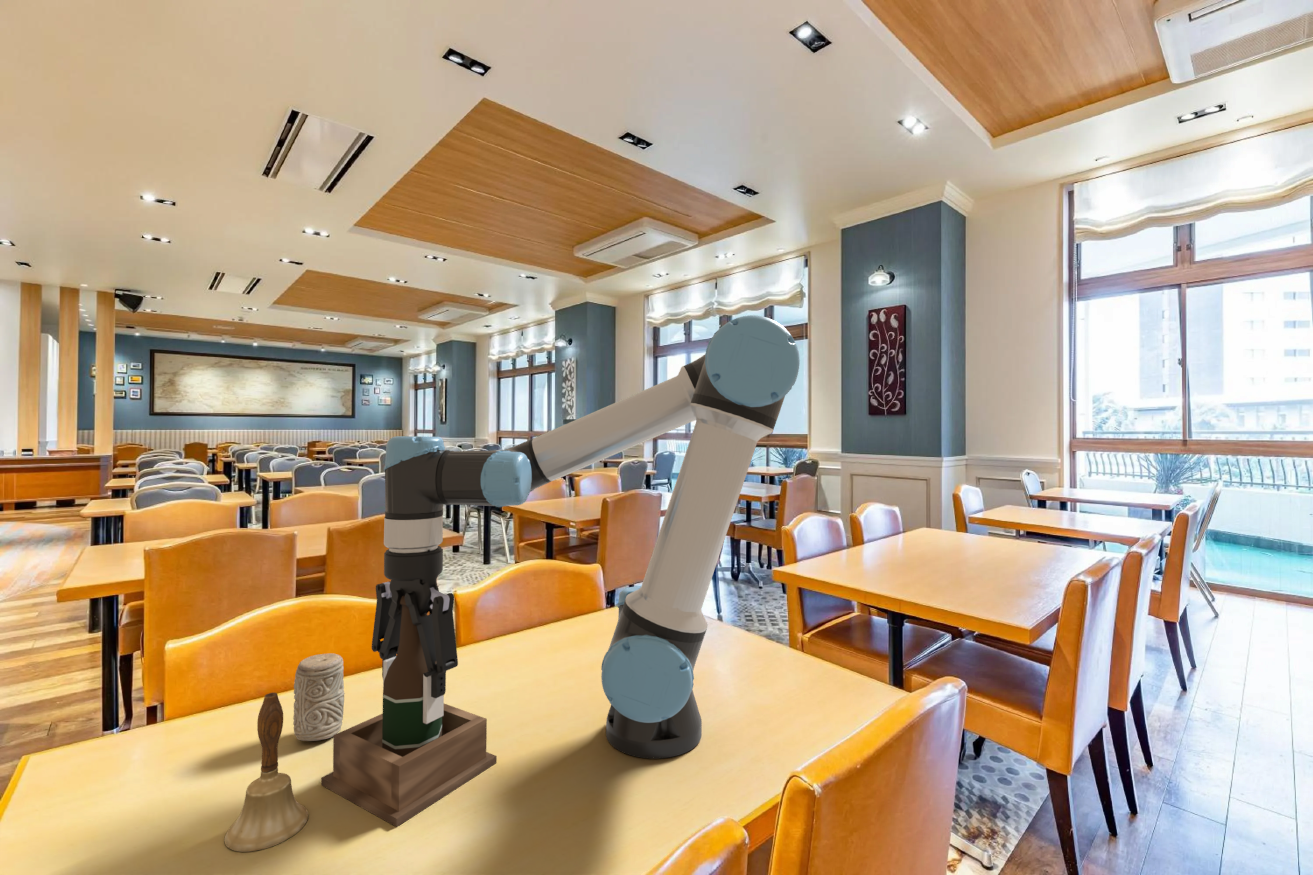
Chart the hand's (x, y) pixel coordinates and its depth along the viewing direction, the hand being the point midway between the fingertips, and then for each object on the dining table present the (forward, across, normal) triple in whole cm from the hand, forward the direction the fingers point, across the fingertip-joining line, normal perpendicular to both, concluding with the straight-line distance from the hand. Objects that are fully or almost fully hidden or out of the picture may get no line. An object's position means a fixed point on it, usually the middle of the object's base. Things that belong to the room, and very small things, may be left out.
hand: (412, 710), depth 80 cm
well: (+9, 0, 0) cm, 9 cm away
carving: (+9, +21, +1) cm, 23 cm away
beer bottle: (+8, 0, 0) cm, 8 cm away
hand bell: (+9, +5, +16) cm, 19 cm away
